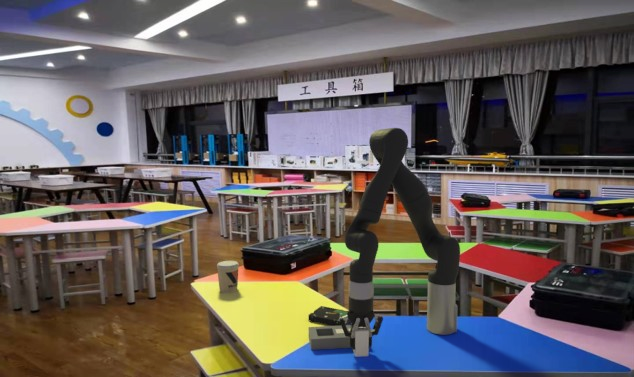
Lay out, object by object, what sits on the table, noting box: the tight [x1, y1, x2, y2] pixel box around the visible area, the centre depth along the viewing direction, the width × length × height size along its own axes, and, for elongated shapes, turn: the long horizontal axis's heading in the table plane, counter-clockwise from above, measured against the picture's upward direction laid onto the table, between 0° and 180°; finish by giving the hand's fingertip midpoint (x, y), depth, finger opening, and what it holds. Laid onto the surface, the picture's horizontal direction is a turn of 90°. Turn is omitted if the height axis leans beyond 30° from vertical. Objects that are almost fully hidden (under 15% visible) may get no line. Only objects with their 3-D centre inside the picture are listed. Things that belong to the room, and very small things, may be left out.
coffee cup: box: [216, 260, 240, 293], centre depth 194 cm, size 9×9×12 cm
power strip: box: [308, 324, 352, 351], centre depth 143 cm, size 18×9×4 cm, turn 96°
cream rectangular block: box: [352, 327, 370, 358], centre depth 135 cm, size 4×4×8 cm
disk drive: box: [308, 305, 351, 326], centre depth 162 cm, size 10×3×15 cm
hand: (360, 347), depth 136 cm, fingers closed on cream rectangular block, 4 cm apart
